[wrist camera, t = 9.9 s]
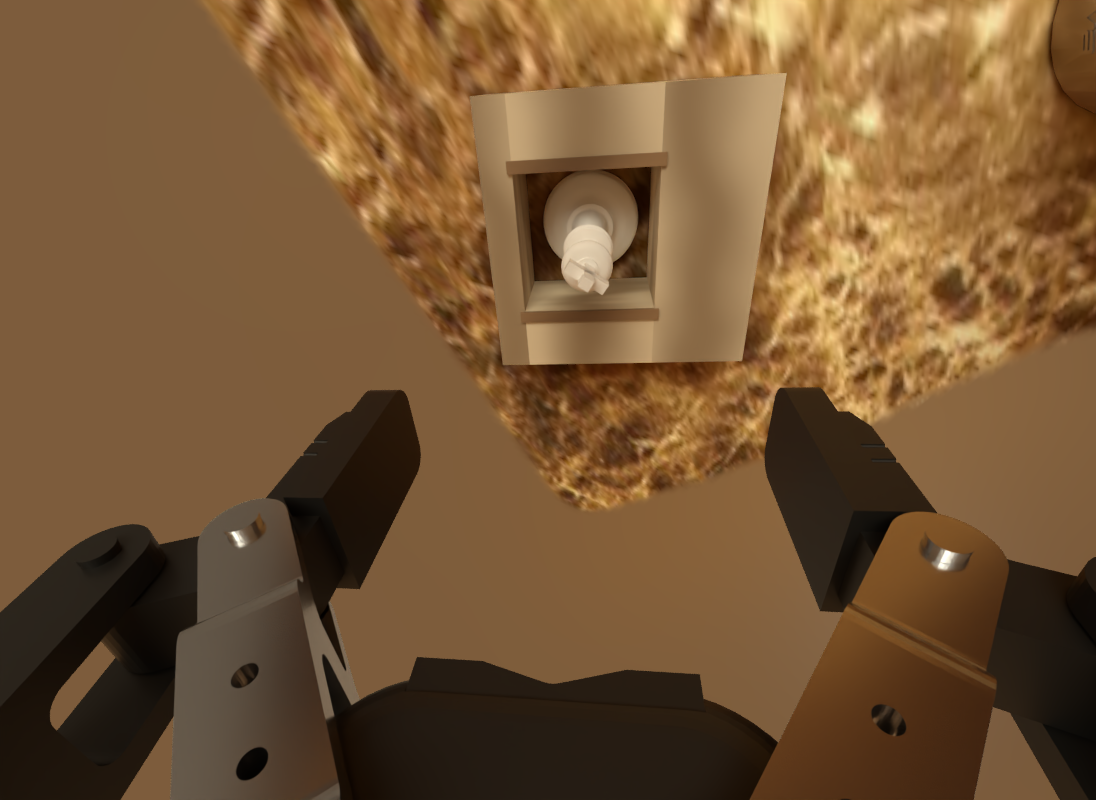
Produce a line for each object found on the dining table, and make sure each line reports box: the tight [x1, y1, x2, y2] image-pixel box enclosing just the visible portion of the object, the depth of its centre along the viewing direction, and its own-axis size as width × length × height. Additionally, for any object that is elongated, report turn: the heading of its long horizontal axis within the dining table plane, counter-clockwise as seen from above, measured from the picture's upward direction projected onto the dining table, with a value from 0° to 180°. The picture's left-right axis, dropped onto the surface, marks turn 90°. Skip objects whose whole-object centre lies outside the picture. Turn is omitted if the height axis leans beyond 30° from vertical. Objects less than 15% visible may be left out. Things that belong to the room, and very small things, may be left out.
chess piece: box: [543, 170, 638, 295], centre depth 22 cm, size 5×5×10 cm
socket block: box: [470, 73, 787, 365], centre depth 24 cm, size 12×12×5 cm
